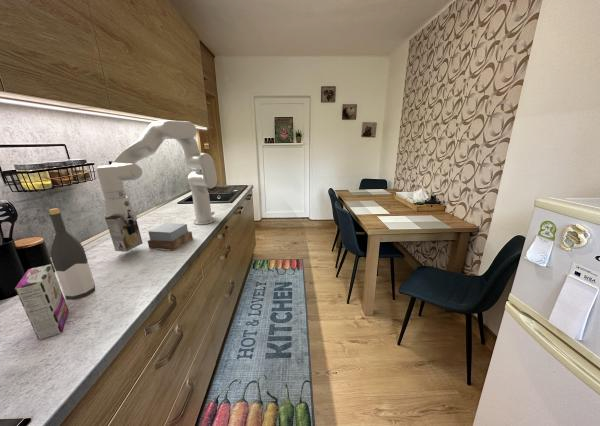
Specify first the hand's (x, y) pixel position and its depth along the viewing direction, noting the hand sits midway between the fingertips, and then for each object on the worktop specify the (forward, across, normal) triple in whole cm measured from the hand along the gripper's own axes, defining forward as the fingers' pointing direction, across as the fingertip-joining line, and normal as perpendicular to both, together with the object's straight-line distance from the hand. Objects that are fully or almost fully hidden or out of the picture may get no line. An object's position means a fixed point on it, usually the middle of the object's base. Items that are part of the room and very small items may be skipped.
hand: (125, 232), depth 109 cm
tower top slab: (+6, -12, -12) cm, 18 cm away
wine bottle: (+9, -10, +30) cm, 33 cm away
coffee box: (+7, 0, 0) cm, 7 cm away
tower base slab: (+11, -12, -12) cm, 20 cm away
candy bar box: (+9, -18, +44) cm, 48 cm away
